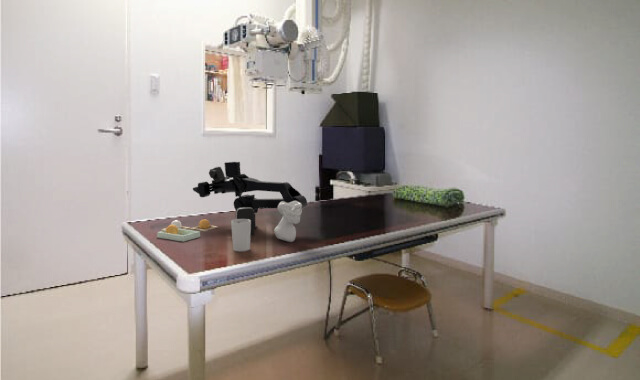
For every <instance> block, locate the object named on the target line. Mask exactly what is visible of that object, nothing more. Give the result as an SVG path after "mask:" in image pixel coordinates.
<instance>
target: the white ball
mask: <svg viewBox="0 0 640 380" xmlns="http://www.w3.org/2000/svg"><path fill="white" fill-rule="evenodd" d="M170 225H175V226H177V228H179V229H182V228H181V226H183V225H182V222H181V221H180V220H177V219H176V220H173V221H171V223H170Z"/></svg>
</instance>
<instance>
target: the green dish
mask: <svg viewBox="0 0 640 380" xmlns="http://www.w3.org/2000/svg"><path fill="white" fill-rule="evenodd" d="M156 236H157V237H156V238H158V239H164V240H171V241H178V242H186V241H190V240H194V239H196V238H200V237H201V231H198V230H191V229H188V230H186V229H184V228H181V229H179V228H178V233H177V234H170V233H166V230H164V231H162V230H160V231H157V232H156Z"/></svg>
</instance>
